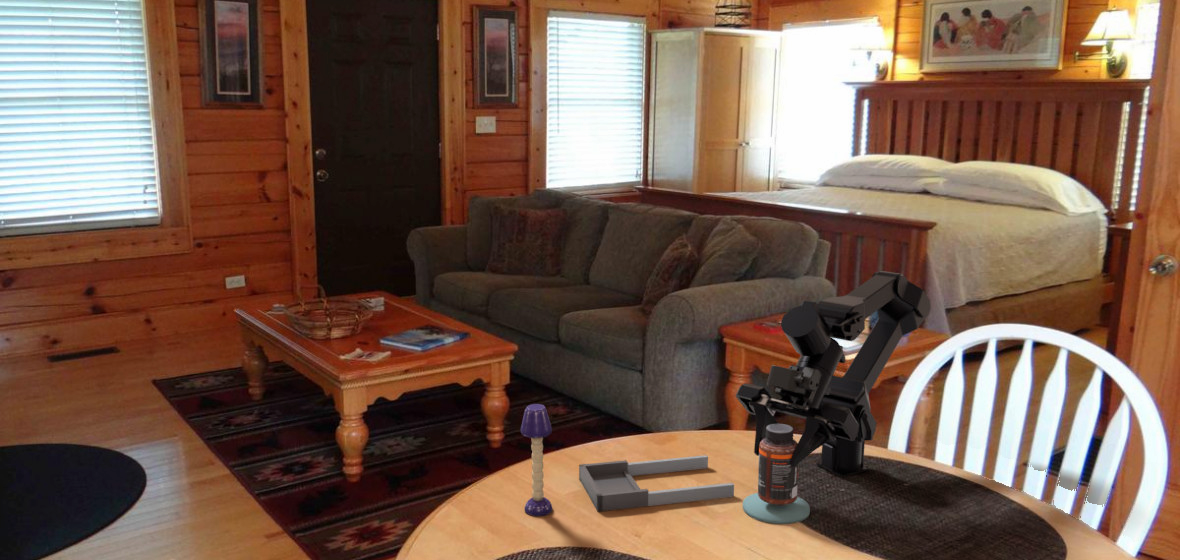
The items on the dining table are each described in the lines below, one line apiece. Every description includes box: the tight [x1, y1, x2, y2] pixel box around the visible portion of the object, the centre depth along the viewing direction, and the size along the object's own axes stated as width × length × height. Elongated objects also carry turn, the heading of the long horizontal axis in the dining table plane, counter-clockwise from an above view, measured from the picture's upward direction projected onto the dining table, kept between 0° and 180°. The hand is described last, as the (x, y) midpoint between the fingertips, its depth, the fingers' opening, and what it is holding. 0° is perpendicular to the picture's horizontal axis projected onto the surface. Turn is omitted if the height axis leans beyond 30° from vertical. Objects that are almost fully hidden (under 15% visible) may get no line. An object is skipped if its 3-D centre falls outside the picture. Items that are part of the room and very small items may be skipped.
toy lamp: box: [520, 403, 553, 517], centre depth 143 cm, size 5×5×17 cm
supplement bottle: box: [757, 423, 800, 505], centre depth 143 cm, size 6×6×11 cm
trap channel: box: [578, 454, 735, 513], centre depth 152 cm, size 22×12×2 cm, turn 103°
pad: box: [742, 492, 811, 525], centre depth 145 cm, size 10×10×1 cm
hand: (773, 459), depth 142 cm, fingers closed on supplement bottle, 6 cm apart
